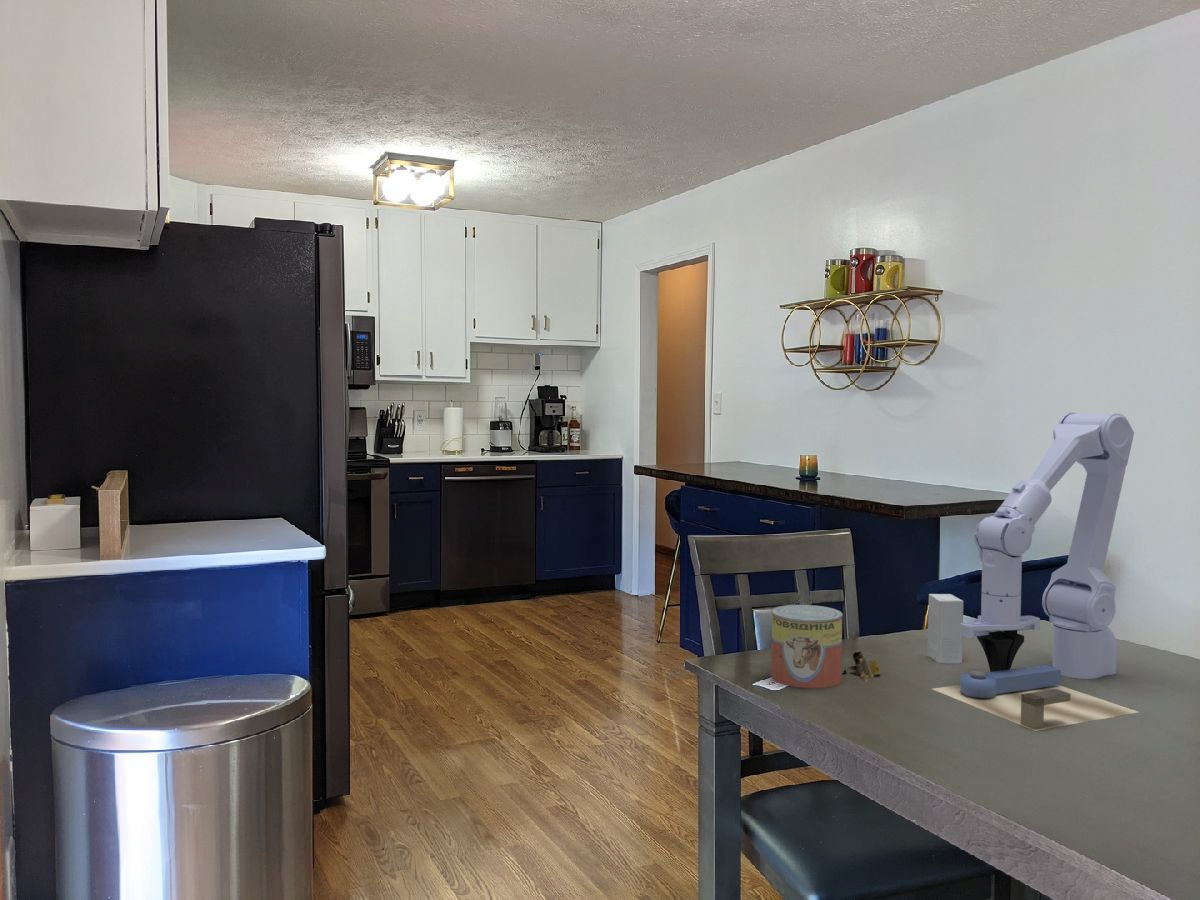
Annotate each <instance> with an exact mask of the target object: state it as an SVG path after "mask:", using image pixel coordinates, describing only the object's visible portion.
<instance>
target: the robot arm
mask: <svg viewBox="0 0 1200 900" xmlns="http://www.w3.org/2000/svg"><path fill="white" fill-rule="evenodd" d="M1052 431H1053V432H1052V434H1053V436H1052V437H1053V442H1052V443H1051V445H1050V447H1049V448H1048V450H1047V452H1045V454H1044V456H1043V457H1042V459H1041V461H1040V462H1039V464H1038V465H1037V467H1036V468H1035V471H1034V472H1033V473H1032V476H1031V477H1030V478H1029V479H1023V480H1020V481H1018V482H1016V483H1015V484H1014V485H1013V486H1012V488H1011V489H1012V490H1011V491H1010V492H1009V494H1008V495H1007V497H1006V498H1005V499H1004V501H1003V502H1002V503H1001V504H1000V505H999V507H998V508H997V510H996V511H995V512H994V514H993V515H990V516H987V517H984V518H983V519H982V520H981V521H980V522H979V523H978V525H977V527H976V530H975V533H973V540H974V543H975V545H976V547H977V549H978V553H979V554H978V558H979V559H980V562H981V605H980V606H981V607H980V608H981V609H980V615H978V616H977V618H976V619H974V620H971V621H967V622H963V623H961V624H960V636H963V638H966V639H974V638H975V637H976V639H977V640H978V642H979V643H980V646H981V648H982V649H983V652H984V654H985V657H986V660H987V664H988V667H989V672H995V671H1002V670H1010V669H1012V665H1013V662H1014V660H1015V657H1016V655H1017V653H1018V651H1019V649H1020V648H1021V646H1022V645H1023V644H1024V643H1025V635H1023V634H1019V633H1018V632H1020V631H1021V632H1022V631H1028V630H1029V631H1030V630H1031V631H1040V627H1041V625H1040V624H1041V623H1040V622H1041V619H1040V617H1037V616H1034V615H1022V613H1021V612H1022V609H1021V608H1022V607H1021V606H1022V599H1021V598H1022V572H1023V571H1022V570H1023V569H1022V568H1023V566H1022V565H1023V563H1022V561H1023V559H1022V558H1023V557H1022V556H1023V555H1024V554H1025V553H1027V551H1028V550H1030V547H1031V545H1032V541H1033V533H1035V528H1036V527H1035V525H1036V524H1037V522H1038V521H1039V520H1040V518H1041V517H1042V516H1043V514H1044V513H1045V512H1046V510H1047V509H1048V508H1049V506H1050V505H1051V503H1052V499H1053V498H1052V495H1051V490H1052V489H1053V488H1054V487H1056V485H1057V484H1058V483H1059V482H1060V480H1061V479H1062V478H1063V477H1064V475H1066V474H1067V472H1068V471H1070V469H1071V468H1072V467H1073V465H1075V463H1078V464H1079V465H1081V466H1082V467H1083V469H1084V471H1085V472H1086V477H1085V480H1084V481H1085V482H1084V486H1083V491H1082V496H1081V499H1080V505H1079V509H1078V513H1077V516H1076V523H1075V526H1074V531H1073V535H1072V540H1071V544H1070V548H1069V552H1068V558H1067V562H1066V564H1064V565H1063V566H1060V567H1059V568H1057V569H1056V570H1055V571H1053V572H1052V573H1051V577H1050V581H1049V583H1048V584H1047V586H1046V587H1045V589H1044V591H1043V594H1042V599H1041V604H1042V608H1043V612H1044V613H1045V615H1047V616H1048V617H1049V620H1048V621H1049V623H1051V624H1053V627H1052V628H1053V629H1052V662H1051V663H1052V664H1051V665H1052V666H1051V667H1054V668H1057V669H1060V670H1061V677H1062V676H1063V677H1067V678H1073V679H1079V680H1093V679H1099V678H1101V677H1104V676H1105V677H1106V676H1110V675H1115V674H1116V673H1117V669H1116V668H1117V647H1118V646H1117V639H1116V636H1115V634H1114V632H1113V630H1112V629H1111V628H1109V627H1108V626H1109V625H1110V624H1111V623H1112V621H1114V618H1115V614H1116V603H1115V594H1116V589H1117V587H1116V584H1114V582H1113V581H1112V580H1111V579H1110V578H1109V576H1108V575H1107V574H1105V573H1104V568H1105V563H1106V561H1107V560H1106V559H1107V554H1108V550H1109V546H1110V541H1111V536H1112V532H1113V528H1114V525H1115V519H1116V514H1117V511H1118V505H1119V501H1120V496H1121V491H1122V488H1123V482H1124V478H1125V474H1126V468H1127V466H1128V464H1129V459H1130V455H1131V448H1132V445H1133V440H1134V436H1135V435H1134V434H1135V432H1134V430H1133V427H1132V425H1131V424H1130V422H1129V420H1128V419H1127V417H1126V416H1125V414H1122V413H1120V412H1114V413H1077V412H1067V413H1065V414H1064V415H1062V416H1061V418H1060V419H1059V421H1058V423H1057V424H1056V425H1055V426H1054V427H1053V430H1052ZM1080 585H1081V586H1080ZM1082 585H1085V586H1082ZM1086 586H1089V587H1086Z"/></svg>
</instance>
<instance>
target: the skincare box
mask: <svg viewBox="0 0 1200 900" xmlns="http://www.w3.org/2000/svg"><path fill="white" fill-rule="evenodd" d="M927 611H928V614H927V616H928V617H927V619H928V620H927V652H926V653H927V657H930V658H931V659H932V660H933V661H935V662H936V663H937V664H962V663H963V645H964V644H963V641H964V640H963V639H964V637H963V636H960V624H961V623H964V600H963V599H960V598H958V597H957V596H955V595H954V594H951V593H929V594H928V609H927Z"/></svg>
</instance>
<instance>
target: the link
mask: <svg viewBox="0 0 1200 900" xmlns="http://www.w3.org/2000/svg"><path fill="white" fill-rule="evenodd" d="M1061 677H1062V675H1061V670H1060V669H1057V668H1054V667H1052V666H1051V665H1048V664H1042V665H1034V666H1027V667H1020V668H1019V667H1017V668H1011V669H1010V670H1002V671H995V672H990V671H988V672H987V671H984V670H979V669H972V670H970V672H964V673H962V674H960V680H959V681H960V684H959V685H960V692H961V693H962V694H964V695H967V696H971V697H977V698H991V697H994V696H995V695H996V694H1001V693H1007V692H1014V691H1021V690H1028V689H1035V688H1042V687H1049V686H1056V685H1060V686H1061Z"/></svg>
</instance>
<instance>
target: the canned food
mask: <svg viewBox="0 0 1200 900" xmlns="http://www.w3.org/2000/svg"><path fill="white" fill-rule="evenodd" d="M770 612H771V669H770V670H771V673H770V676H771V678H772V680H773V681H775V682H776V683H778V684H780V685H785V686H788V687H793V688H799V689H801V688H802V689H826V688H828V689H829V688H832V687H836V686H838V685H840V684H841V682H842V673H843V671H842V669H843V667H842V665H843V664H842V663H843V662H842V659H843V650H842V649H843V616H844V614H843V612H842V611H840V610H838V609H836V608H833V607H828V606H823V605H822V606H821V605H814V604H788V605H787V604H786V605H781V606H776V607H773V608H772V609H771V611H770Z"/></svg>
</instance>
